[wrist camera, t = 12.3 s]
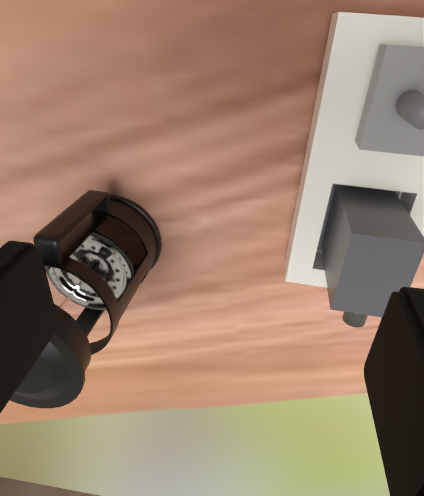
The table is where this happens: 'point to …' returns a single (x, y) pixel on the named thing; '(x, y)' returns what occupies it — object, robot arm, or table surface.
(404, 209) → the plug
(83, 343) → the french press
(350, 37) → the power strip
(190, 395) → the table surface
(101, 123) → the table surface
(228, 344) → the table surface
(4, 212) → the table surface
